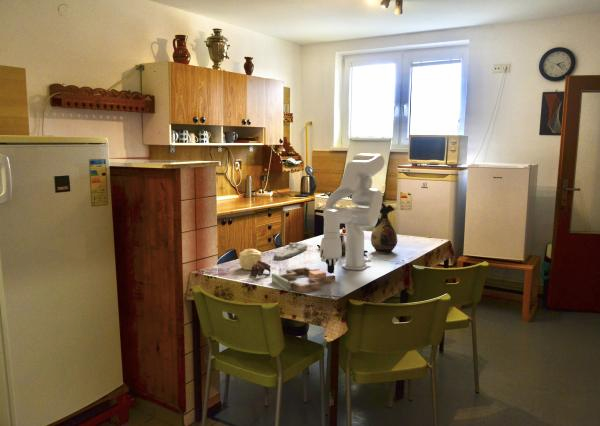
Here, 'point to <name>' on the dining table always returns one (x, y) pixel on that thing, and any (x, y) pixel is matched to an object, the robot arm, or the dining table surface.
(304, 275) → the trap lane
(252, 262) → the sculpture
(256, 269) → the brown animal figurine
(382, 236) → the ceramic jug
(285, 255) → the elongated rock
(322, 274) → the block
